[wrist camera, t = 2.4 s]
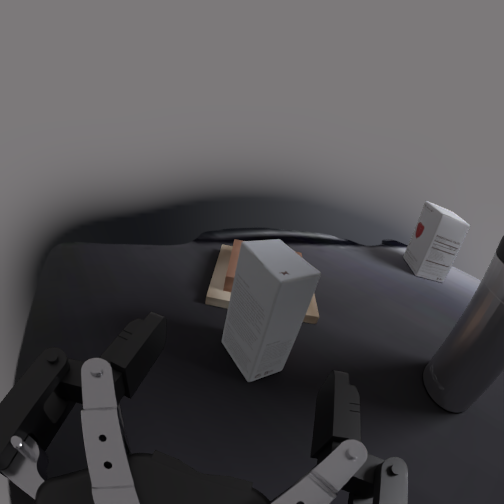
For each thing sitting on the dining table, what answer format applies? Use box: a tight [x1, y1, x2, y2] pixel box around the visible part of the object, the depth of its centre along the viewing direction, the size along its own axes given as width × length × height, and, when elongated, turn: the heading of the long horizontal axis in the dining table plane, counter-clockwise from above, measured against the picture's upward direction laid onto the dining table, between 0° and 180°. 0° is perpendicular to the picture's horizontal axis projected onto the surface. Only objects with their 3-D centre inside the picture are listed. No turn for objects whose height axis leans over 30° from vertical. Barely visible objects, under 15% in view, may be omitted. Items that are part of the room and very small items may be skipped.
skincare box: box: [222, 239, 321, 382], centre depth 25 cm, size 6×4×12 cm
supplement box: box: [403, 201, 470, 283], centre depth 54 cm, size 9×9×15 cm
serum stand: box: [205, 239, 319, 324], centre depth 40 cm, size 14×14×3 cm
